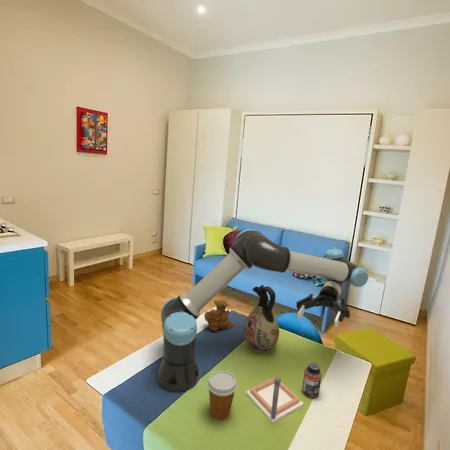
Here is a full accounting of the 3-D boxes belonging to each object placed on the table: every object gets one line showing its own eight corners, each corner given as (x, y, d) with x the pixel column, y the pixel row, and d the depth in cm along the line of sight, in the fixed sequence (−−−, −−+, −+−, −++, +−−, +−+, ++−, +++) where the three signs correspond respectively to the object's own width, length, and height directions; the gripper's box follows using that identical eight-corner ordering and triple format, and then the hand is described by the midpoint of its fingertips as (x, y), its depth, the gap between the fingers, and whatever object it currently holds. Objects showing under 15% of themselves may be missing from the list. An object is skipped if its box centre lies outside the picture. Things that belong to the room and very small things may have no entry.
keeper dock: (272, 423, 97) (277, 381, 94) (245, 393, 109) (249, 355, 105) (303, 405, 105) (308, 366, 102) (275, 380, 116) (279, 343, 113)
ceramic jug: (235, 342, 138) (240, 280, 131) (261, 333, 146) (267, 274, 140) (259, 365, 124) (266, 296, 117) (287, 353, 133) (295, 289, 126)
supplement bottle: (307, 384, 115) (311, 357, 113) (321, 393, 111) (326, 365, 109) (298, 391, 111) (302, 364, 109) (313, 401, 107) (317, 373, 105)
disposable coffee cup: (224, 429, 94) (227, 396, 91) (199, 414, 99) (201, 382, 96) (240, 409, 102) (242, 377, 99) (216, 396, 107) (218, 365, 104)
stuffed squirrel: (234, 325, 152) (236, 301, 149) (215, 337, 141) (217, 310, 138) (219, 317, 158) (221, 294, 155) (200, 328, 147) (201, 303, 144)
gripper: (361, 306, 125) (352, 337, 108) (301, 296, 138) (284, 322, 121) (361, 289, 123) (352, 318, 106) (300, 281, 136) (283, 305, 119)
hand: (316, 320), depth 113 cm, fingers open, 13 cm apart
